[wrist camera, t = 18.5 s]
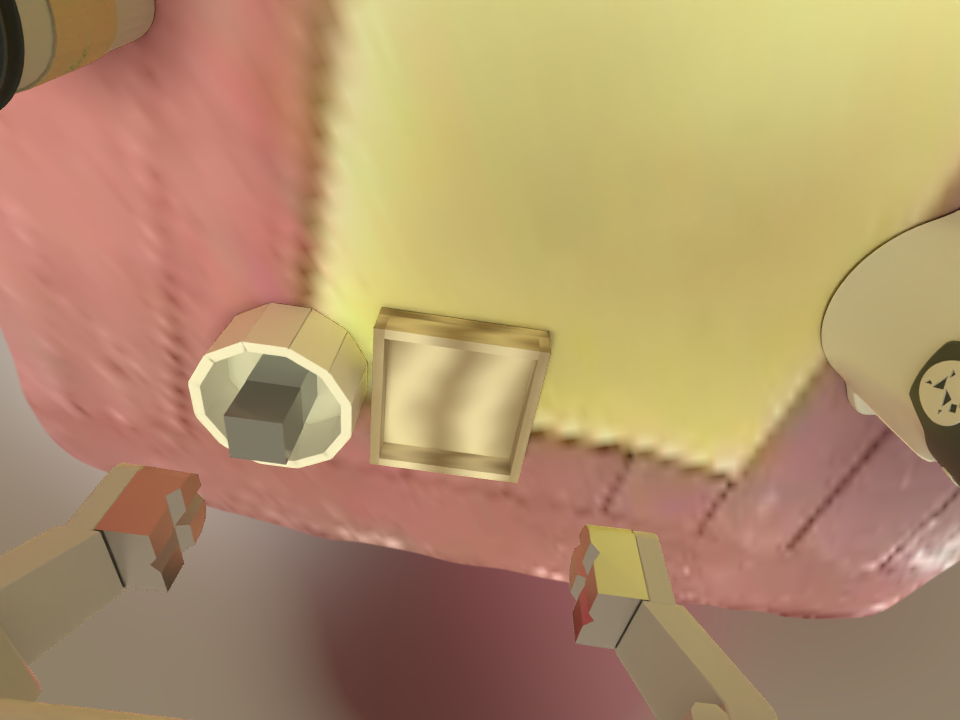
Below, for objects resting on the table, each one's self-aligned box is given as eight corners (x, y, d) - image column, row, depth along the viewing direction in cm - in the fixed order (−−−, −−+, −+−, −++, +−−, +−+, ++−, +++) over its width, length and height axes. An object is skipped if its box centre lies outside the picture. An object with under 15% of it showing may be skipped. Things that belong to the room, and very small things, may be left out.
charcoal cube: (301, 387, 41) (282, 423, 38) (303, 427, 43) (286, 464, 40) (246, 380, 41) (223, 415, 37) (251, 420, 43) (230, 457, 40)
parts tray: (548, 331, 43) (550, 353, 40) (517, 458, 51) (517, 483, 48) (381, 307, 42) (373, 328, 40) (376, 439, 50) (369, 463, 48)
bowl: (368, 316, 43) (351, 356, 38) (365, 430, 50) (351, 475, 45) (212, 294, 42) (177, 332, 38) (231, 411, 49) (203, 455, 45)
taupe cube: (316, 356, 44) (300, 387, 41) (317, 395, 46) (302, 427, 43) (265, 349, 44) (245, 380, 41) (269, 388, 46) (251, 420, 43)
